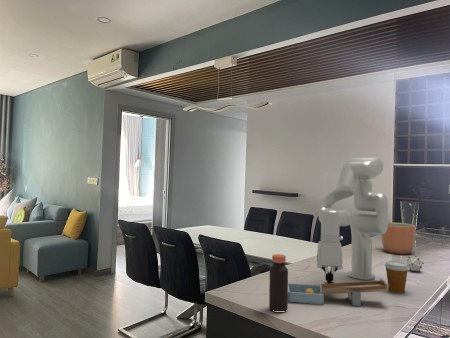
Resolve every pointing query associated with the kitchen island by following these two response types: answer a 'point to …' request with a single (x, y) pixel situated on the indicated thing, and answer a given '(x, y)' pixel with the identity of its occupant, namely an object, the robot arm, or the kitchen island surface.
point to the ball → (309, 291)
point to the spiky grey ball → (414, 264)
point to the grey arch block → (355, 298)
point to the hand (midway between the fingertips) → (329, 282)
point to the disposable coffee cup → (396, 276)
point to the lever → (354, 287)
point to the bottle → (278, 284)
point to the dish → (305, 294)
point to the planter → (399, 238)
